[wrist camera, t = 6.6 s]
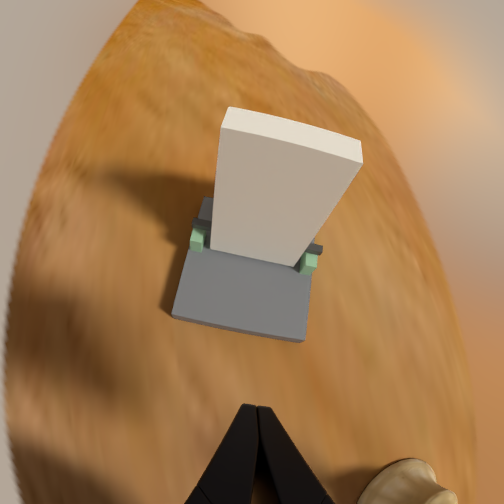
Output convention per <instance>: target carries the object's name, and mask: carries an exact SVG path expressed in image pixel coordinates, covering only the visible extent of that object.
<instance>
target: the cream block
mask: <svg viewBox="0 0 504 504" xmlns="http://www.w3.org/2000/svg"><path fill="white" fill-rule="evenodd" d="M362 165H363V158H362V149H361V142H360V141H359V140H356V139H354V138H350V137H347V136H344V135H341V134H338V133H335V132H332V131H328V130H325V129H322V128H318V127H315V126H311V125H308V124H304V123H300V122H296V121H293V120H289V119H285V118H281V117H277V116H272V115H268V114H264V113H259V112H255V111H250V110H245V109H240V108H235V107H230V106H229V107H228V110H227V112H226V115H225V118H224V120H223V123H222V126H221V131H220V140H219V149H218V159H217V169H216V180H215V191H214V203H213V215H212V221H208V220H204V219H199V218H193V221H192V228H196V229H201V230H205V231H210V232H211V241H210V249H212V250H217V251H222V252H226V253H231V254H236V255H240V256H245V257H250V258H254V259H259V260H264V261H268V262H273V263H278V264H282V265H287V266H292V267H294V265H295V264H296V262H297V261H298V260H299V258H300V257H301V255H302V254H303V253H304V252H306V253H311V254H315V255H321V253H322V250H323V246H321V245H317V244H312V243H310V242H311V241H312V240H313V238H314V237H315V235H316V234H317V232H318V231H319V229H320V228H321V227H322V225H323V224H324V222H325V221H326V219H327V218H328V216H329V215H330V213H331V212H332V210H333V209H334V207H335V206H336V204H337V203H338V201H339V200H340V198H341V197H342V195H343V194H344V192H345V191H346V189H347V188H348V186H349V185H350V183H351V182H352V180H353V179H354V177H355V176H356V174H357V173H358V171H359V170H360V168H361V166H362Z"/></svg>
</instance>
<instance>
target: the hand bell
mask: <svg viewBox="0 0 504 504" xmlns="http://www.w3.org/2000/svg"><path fill="white" fill-rule="evenodd" d="M357 504H457V497H456V495H455V493H454V492H452V491H450V490H448V489H445V488H443V487H441V486H440V485H438V484H437V481H436V476H435V473H434V471H433V469H432V468H431V467H430V465H429V464H427V463H426V462H424V461H422V460H420V459H406V460H402V461H399V462H397V463H395V464H392V465H391V466H389V467H387V468H386V469H385V470H383V471H382V472H380V473H379V474H378V475H377V476H376V477H375V478H374V479H373V480H372V481H371V482H370V483H369V485H368V486H367V487H366V489H365V490H364V491H363V493H362V494H361V496H360V498H359V500H358V502H357Z"/></svg>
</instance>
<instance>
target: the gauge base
mask: <svg viewBox="0 0 504 504" xmlns="http://www.w3.org/2000/svg"><path fill="white" fill-rule="evenodd" d="M215 180H216V177H215ZM214 191H215V188H214ZM213 203H214V198H210V197H205V196H204V199H203V202H202V205H201V208H200V212H199V215H198V218H199V219H204V220H208V221H212V215H213ZM210 241H211V232H210V231H205V230H201V229H196V228H193V231H192V234H191V238H190V246H189V249H188V253H187V256H186V260H185V264H184V267H183V271H182V275H181V278H180V282H179V286H178V290H177V294H176V298H175V302H174V306H173V310H172V317H173V318H175V319H179V320H183V321H188V322H192V323H196V324H201V325H205V326H210V327H215V328H220V329H224V330H229V331H234V332H240V333H245V334H250V335H255V336H261V337H267V338H272V339H278V340H284V341H291V342H297V343H301V342H303V341H305V337H306V328H307V319H308V309H309V299H310V288H311V277H312V272H313V271H314V270H315V269H316V268H317V256H318V255H315V254H311V253H306V252H304V253H303V254H302V255H301V257H300V258H299V260H298V261H297V262H296V264H295V265H294V267H292V266H287V265H282V264H278V263H273V262H268V261H264V260H259V259H254V258H250V257H245V256H240V255H236V254H231V253H226V252H222V251H217V250H212V249H210ZM310 243H312V244H314V238H313V240H312V241H311V242H310Z"/></svg>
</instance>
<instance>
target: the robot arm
mask: <svg viewBox="0 0 504 504" xmlns="http://www.w3.org/2000/svg"><path fill="white" fill-rule="evenodd" d="M326 494H327V492H326V490H325V489H324V488H323V486H322V485H321V483H320V482H319V480H318V479H317V478H316V476H315V475H314V473H313V472H312V470H311V469H310V467H309V466H308V464H307V463H306V461H305V460H304V458H303V457H302V455H301V454H300V452H299V451H298V449H297V448H296V446H295V445H294V443H293V442H292V440H291V439H290V437H289V435H288V434H287V432H286V431H285V429H284V428H283V426H282V424H281V423H280V421H279V420H278V418H277V416H276V415H275V413H274V412H273V410H272V409H271V408H270V407H266V406H257V407H256V406H255V405H251V404H242V405H241V407H240V409H239V411H238V412H237V414H236V416H235V418H234V420H233V422H232V423H231V425H230V427H229V429H228V431H227V433H226V434H225V436H224V438H223V440H222V442H221V443H220V445H219V447H218V449H217V450H216V452H215V454H214V456H213V457H212V459H211V461H210V463H209V464H208V466H207V468H206V470H205V471H204V473H203V475H202V476H201V478H200V480H199V481H198V483H197V486H195V488H194V489H193V491H192V493H191V494H190V496H189V497H188V499H187V500H186V502H185V503H184V504H335V503H334V502H333V500H332V499H331V497H330V496H329V495H328V494H327V495H326Z"/></svg>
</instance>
